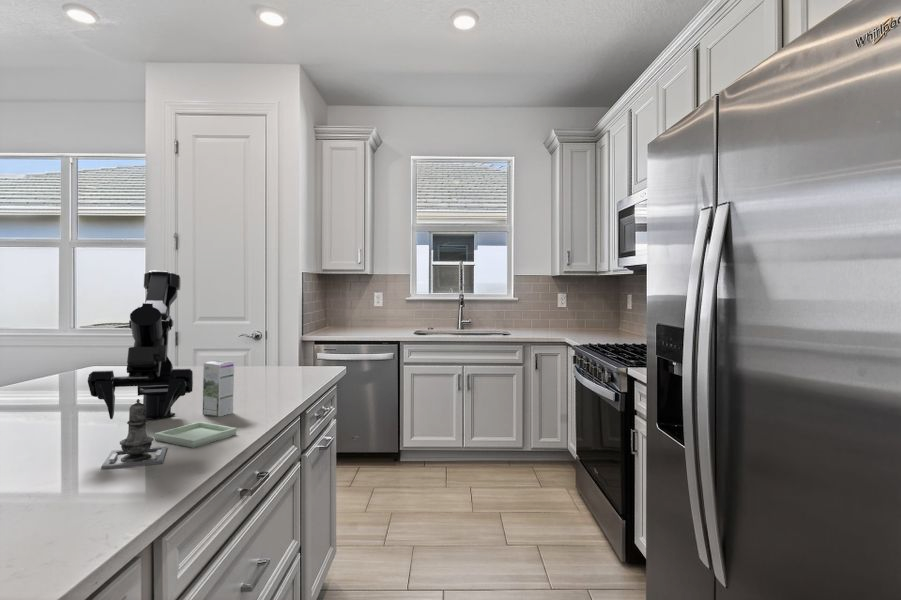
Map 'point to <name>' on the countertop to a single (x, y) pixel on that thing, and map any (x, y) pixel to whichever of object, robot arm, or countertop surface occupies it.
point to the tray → (195, 434)
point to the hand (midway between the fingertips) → (138, 416)
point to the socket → (114, 454)
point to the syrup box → (218, 388)
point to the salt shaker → (136, 435)
